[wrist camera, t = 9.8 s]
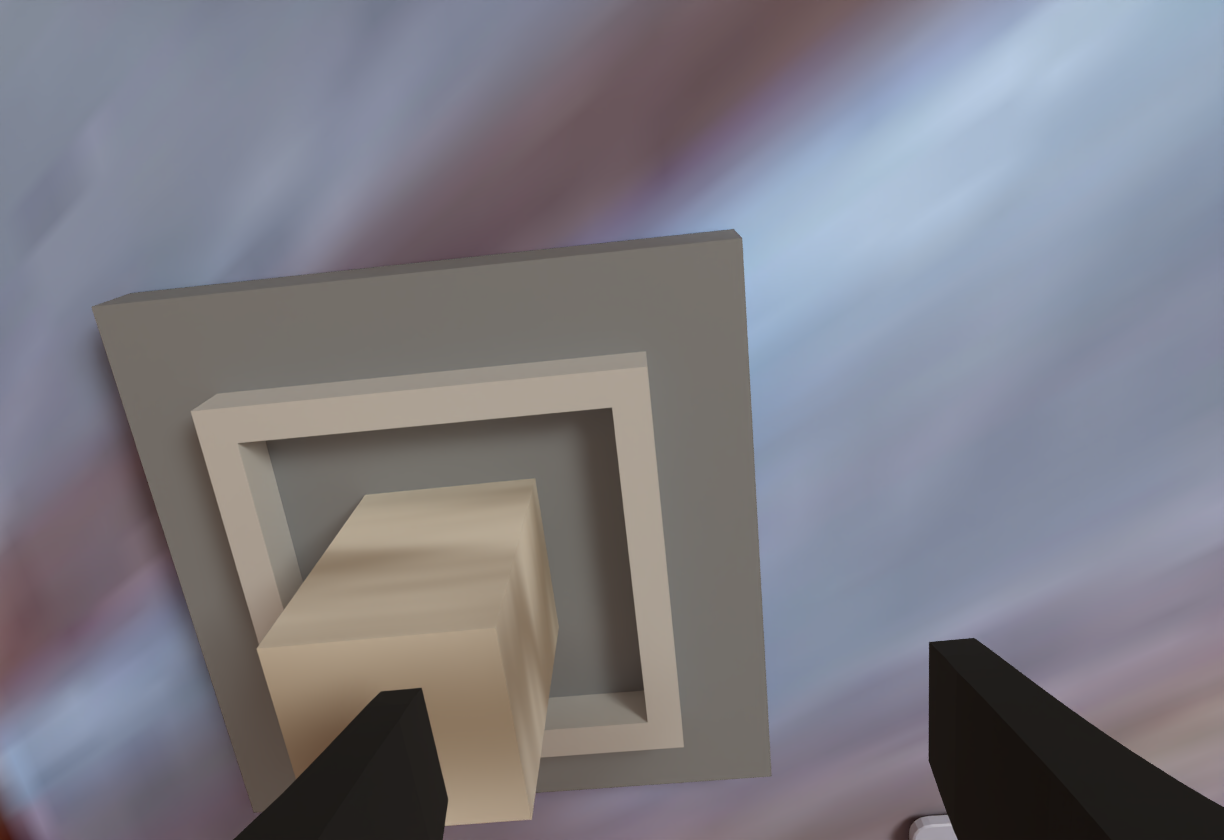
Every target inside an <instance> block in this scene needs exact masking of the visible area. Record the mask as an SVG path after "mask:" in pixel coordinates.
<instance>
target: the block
mask: <svg viewBox="0 0 1224 840" xmlns="http://www.w3.org/2000/svg"><path fill="white" fill-rule="evenodd" d="M558 629H559V625H558V619H557V612H556V606H555V600H554V593H553V587H552V581H551V574H550V568H549V562H548V556H547V549H546V543H545V537H544V530H543V524H542V518H541V511H540V505H539V499H538V493H537V486H536V480H535V478H533V479H522V480H512V481H502V482H492V483H481V484H471V485H461V486H451V487H441V488H430V489H420V490H410V491H400V492H389V493H379V494H369V495H365V496H364V497H363V499H362V500H361V501H360V503H359V504H358V506H357V507H356V509H355V510H354V511H353V513H352V514H351V516H350V517H349V518H348V520H347V521H346V523H345V524H344V526H343V527H342V528H341V530H340V531H339V533H338V534H337V535H336V537H335V538H334V540H333V541H332V543H331V544H330V545H329V547H328V548H327V550H326V551H325V552H324V554H323V555H322V557H321V558H320V559H319V561H318V562H317V564H316V565H315V567H314V568H313V569H312V571H311V572H310V574H309V575H308V576H307V578H306V579H305V581H304V582H303V584H302V585H301V586H300V588H299V589H298V591H297V592H296V593H295V595H294V596H293V598H292V599H291V601H290V602H289V603H288V605H287V606H286V608H285V609H284V610H283V612H282V613H281V615H280V616H279V618H278V619H277V620H276V622H275V623H274V625H273V626H272V627H271V629H270V630H269V632H268V633H267V635H266V636H265V637H264V639H263V640H262V642H261V643H260V644H259V646H258V647H257V652H258V655H259V659H260V662H261V665H262V668H263V672H264V675H265V678H266V682H267V685H268V688H269V692H270V695H271V698H272V701H273V705H274V708H275V711H276V715H277V718H278V721H279V725H280V728H281V731H282V734H283V738H284V741H285V744H286V748H287V751H288V754H289V757H290V761H291V764H292V767H293V771H294V774H295V777H296V779H297V778H298V777H299V776H300V775H301V774H302V773H303V772H304V771H305V770H306V768H307V767H308V766H309V765H310V764H311V763H312V762H313V761H314V760H315V759H316V758H317V757H318V756H319V755H320V754H321V753H322V752H323V751H324V750H325V749H326V748H327V747H328V746H329V745H330V744H331V743H332V741H333V740H334V739H335V738H336V737H337V736H338V735H339V734H340V733H341V732H342V731H343V730H344V729H345V728H346V727H347V726H348V724H349V723H350V722H351V721H352V720H353V719H354V718H355V717H356V716H357V715H358V714H359V713H360V712H361V711H362V710H363V709H364V708H365V707H366V706H367V705H368V704H369V702H370V701H371V700H372V699H374V698H375V697H376V696H377V695H378V694H379V693H380V692H381V691H390V690H401V689H412V688H422V691H423V695H424V699H425V703H426V707H427V712H428V716H429V720H430V724H431V728H432V733H433V737H434V741H435V745H436V749H437V754H438V758H439V762H440V766H441V770H442V775H443V779H444V783H445V787H446V791H447V796H448V806H447V813H446V820H445V826H450V825H463V824H477V823H490V822H504V821H517V820H531V819H532V815H533V807H534V800H535V793H536V786H537V779H538V772H539V765H540V758H541V750H542V743H543V736H544V729H545V722H546V715H547V708H548V700H549V693H550V686H551V679H552V672H553V665H554V658H555V651H556V643H557V636H558Z"/></svg>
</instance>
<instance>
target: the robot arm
mask: <svg viewBox="0 0 1224 840" xmlns="http://www.w3.org/2000/svg"><path fill="white" fill-rule="evenodd" d="M929 763H930V766H931V769H932V772H933V775H934V777H935V780H936V783H937V786H938V789H939V792H940V795H941V798H942V801H943V803H944V806H945V809H946V811H947V814H948V815H937V816H925V817H921V818H919V819H917V820H915V821H914V822H913V824H912V825H911V827H910V830H909V840H1224V807H1222V806H1221V805H1219V804H1217V803H1215V802H1213V801H1212V800H1210V799H1208V798H1206V797H1205V796H1203V795H1201V794H1200V793H1198V792H1196V791H1195V790H1193V789H1191V788H1189V787H1188V786H1186V785H1184V784H1183V783H1181V782H1179V781H1178V780H1176V779H1175V778H1173V777H1172V776H1170V775H1168V774H1167V773H1165V772H1164V771H1162V770H1160V769H1159V768H1157V767H1156V766H1154V765H1153V764H1151V763H1149V762H1148V761H1146V760H1145V759H1143V758H1142V757H1140V756H1138V755H1137V754H1135V753H1134V752H1132V751H1131V750H1129V749H1128V748H1126V747H1125V746H1123V745H1122V744H1120V743H1119V742H1117V741H1116V740H1114V739H1113V738H1111V737H1110V736H1108V735H1107V734H1105V733H1104V732H1102V731H1101V730H1099V729H1098V728H1097V727H1095V726H1094V725H1092V724H1091V723H1089V722H1088V721H1086V720H1085V719H1084V718H1082V717H1081V716H1079V715H1078V714H1077V713H1075V712H1074V711H1072V710H1071V709H1070V708H1068V707H1067V706H1065V705H1064V704H1063V703H1061V702H1060V701H1059V700H1057V699H1056V698H1054V697H1053V696H1052V695H1050V694H1049V693H1048V692H1046V691H1045V690H1044V689H1042V688H1041V687H1040V686H1038V685H1037V684H1035V683H1034V682H1033V681H1031V680H1030V679H1029V678H1027V677H1026V676H1025V675H1023V674H1022V673H1021V672H1019V671H1018V670H1017V669H1015V668H1014V667H1013V666H1011V665H1010V664H1009V663H1007V662H1006V661H1005V660H1003V659H1002V658H1001V657H999V656H998V655H997V654H995V653H994V652H993V651H991V650H990V649H989V648H987V647H986V646H985V645H983V644H982V643H980V642H979V641H978V640H976V639H975V638H969V639H958V640H947V641H936V642H929ZM447 806H448V796H447V791H446V787H445V783H444V779H443V775H442V770H441V766H440V762H439V758H438V754H437V749H436V745H435V741H434V737H433V733H432V728H431V724H430V720H429V716H428V712H427V707H426V703H425V699H424V695H423V691H422V688H412V689H401V690H390V691H381V692H380V693H379V694H378V695H377V696H376V697H375V698H374V699H372V700H371V701H370V702H369V704H368V705H367V706H366V707H365V708H364V709H363V710H362V711H361V712H360V713H359V714H358V715H357V716H356V717H355V718H354V719H353V720H352V721H351V722H350V723H349V724H348V726H347V727H346V728H345V729H344V730H343V731H342V732H341V733H340V734H339V735H338V736H337V737H336V738H335V739H334V740H333V741H332V743H331V744H330V745H329V746H328V747H327V748H326V749H325V750H324V751H323V752H322V753H321V754H320V755H319V756H318V757H317V758H316V759H315V760H314V761H313V762H312V763H311V764H310V765H309V766H308V767H307V768H306V770H305V771H304V772H303V773H302V774H301V775H300V776H299V777H298V778H297V779H296V780H295V781H294V782H293V783H292V784H291V785H290V786H289V787H288V788H287V789H286V790H285V791H284V792H283V793H282V794H281V795H280V796H279V797H278V798H277V799H276V800H275V801H274V802H273V803H272V804H271V805H269V806H268V807H267V808H266V809H265V810H264V811H263V812H262V813H261V814H260V815H259V816H258V817H257V818H256V819H255V820H254V821H253V822H252V823H250V824H249V825H248V826H247V827H246V828H245V829H244V830H243V831H242V832H241V833H240V834H239V835H238V836H237V837H236V838H235V839H234V840H443V833H444V827H445V820H446V813H447Z"/></svg>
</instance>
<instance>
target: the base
mask: <svg viewBox="0 0 1224 840" xmlns="http://www.w3.org/2000/svg"><path fill="white" fill-rule="evenodd" d="M92 310H93V313H94V316H95V319H96V323H97V326H98V329H99V332H100V335H101V338H102V341H103V344H104V347H105V351H106V354H107V357H108V360H109V363H110V366H111V369H112V372H113V375H114V379H115V382H116V385H117V388H118V391H119V394H120V397H121V400H122V403H123V407H124V410H125V413H126V416H127V419H128V422H129V425H130V428H131V432H132V435H133V438H134V441H135V444H136V447H137V450H138V453H139V456H140V460H141V463H142V466H143V469H144V472H145V475H146V478H147V481H148V484H149V488H150V491H151V494H152V497H153V500H154V503H155V506H156V509H157V512H158V516H159V519H160V522H161V525H162V528H163V531H164V534H165V537H166V540H167V544H168V547H169V550H170V553H171V556H172V559H173V562H174V565H175V569H176V572H177V575H178V578H179V581H180V584H181V587H182V590H183V593H184V597H185V600H186V603H187V606H188V609H189V612H190V615H191V618H192V621H193V625H194V628H195V631H196V634H197V637H198V640H199V643H200V646H201V649H202V653H203V656H204V659H205V662H206V665H207V668H208V671H209V674H210V677H211V681H212V684H213V687H214V690H215V693H216V696H217V699H218V702H219V706H220V709H221V712H222V715H223V718H224V721H225V724H226V727H227V730H228V734H229V737H230V740H231V743H232V746H233V749H234V752H235V755H236V758H237V762H238V765H239V768H240V771H241V774H242V777H243V780H244V783H245V786H246V790H247V793H248V796H249V799H250V802H251V805H252V808H253V811H254V813H255V812H263V811H264V810H265V809H266V808H267V807H268V806H269V805H271V804H272V803H273V802H274V801H275V800H276V799H277V798H278V797H279V796H280V795H281V794H282V793H283V792H284V791H285V790H286V789H287V788H288V787H289V786H290V785H291V784H292V783H293V782H294V781H295V780H296V777H295V774H294V771H293V767H292V764H291V761H290V757H289V754H288V751H287V748H286V744H285V741H284V738H283V734H282V731H281V728H280V725H279V721H278V718H277V715H276V711H275V708H274V705H273V701H272V698H271V695H270V692H269V688H268V685H267V682H266V678H265V675H264V672H263V668H262V665H261V662H260V659H259V655H258V652H257V647H258V646H259V644H260V643H261V642H262V640H263V639H264V637H265V636H266V635H267V633H268V632H269V630H270V629H271V627H272V626H273V625H274V623H275V622H276V620H277V619H278V618H279V616H280V615H281V613H282V612H283V610H284V609H285V608H286V606H287V605H288V603H289V602H290V601H291V599H292V598H293V596H294V595H295V593H296V592H297V591H298V589H299V588H300V586H301V585H302V584H303V582H304V581H305V579H306V578H307V576H308V575H309V574H310V572H311V571H312V569H313V568H314V567H315V565H316V564H317V562H318V561H319V559H320V558H321V557H322V555H323V554H324V552H325V551H326V550H327V548H328V547H329V545H330V544H331V543H332V541H333V540H334V538H335V537H336V535H337V534H338V533H339V531H340V530H341V528H342V527H343V526H344V524H345V523H346V521H347V520H348V518H349V517H350V516H351V514H352V513H353V511H354V510H355V509H356V507H357V506H358V504H359V503H360V501H361V500H362V499H363V497H364V496H365V495H369V494H379V493H389V492H400V491H410V490H420V489H430V488H441V487H451V486H461V485H471V484H481V483H492V482H502V481H512V480H522V479H533V478H535V480H536V486H537V493H538V499H539V505H540V511H541V518H542V524H543V530H544V537H545V543H546V549H547V556H548V562H549V568H550V574H551V581H552V587H553V593H554V600H555V606H556V612H557V619H558V625H559V629H558V636H557V643H556V651H555V658H554V665H553V672H552V679H551V686H550V693H549V700H548V708H547V715H546V722H545V729H544V736H543V743H542V750H541V758H540V765H539V772H538V779H537V786H536V793H540V792H555V791H569V790H583V789H597V788H612V787H626V786H640V785H654V784H669V783H683V782H697V781H711V780H726V779H740V778H754V777H769V776H771V759H770V741H769V723H768V704H767V686H766V668H765V649H764V631H763V613H762V594H761V576H760V557H759V539H758V521H757V502H756V484H755V466H754V447H753V429H752V411H751V392H750V374H749V356H748V337H747V319H746V301H745V282H744V264H743V246H742V237H741V236H740V235H739V234H738V233H737V232H736V231H735V230H734V229H730V230H721V231H712V232H702V233H693V234H683V235H674V236H665V237H655V238H646V239H636V240H627V241H617V242H608V243H599V244H589V245H580V246H570V247H561V248H552V249H542V250H533V251H523V252H514V253H505V254H495V255H486V256H476V257H467V258H458V259H448V260H439V261H429V262H420V263H411V264H401V265H392V266H382V267H373V268H364V269H354V270H345V271H335V272H326V273H317V274H307V275H298V276H288V277H279V278H270V279H260V280H251V281H241V282H232V283H222V284H213V285H204V286H194V287H185V288H175V289H166V290H157V291H147V292H138V293H130V294H127V295H124V296H121V297H118V298H116V299H113V300H110V301H107V302H104V303H101V304H98V305H95V306H93V307H92Z"/></svg>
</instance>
